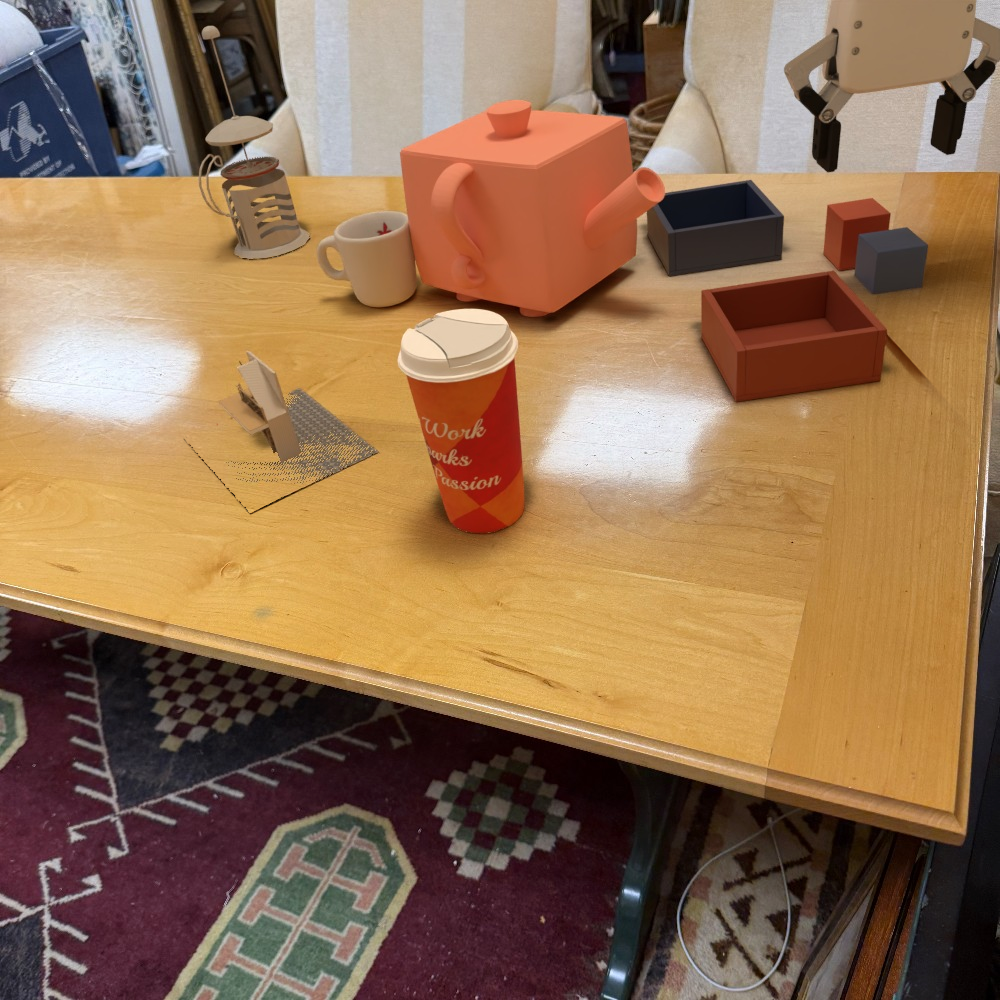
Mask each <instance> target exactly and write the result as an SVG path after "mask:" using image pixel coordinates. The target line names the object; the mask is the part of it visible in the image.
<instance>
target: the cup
mask: <svg viewBox="0 0 1000 1000" xmlns="http://www.w3.org/2000/svg"><path fill="white" fill-rule="evenodd" d="M316 247H317V248H316V258H317V261H318V264H319V266H320V268H321V270H322V272H323V273H324V274H325V276H326V277H328V278H330V279H331V280H333V281H341V282H342V281H344V282H349V283H350V285H351V288H352V290H353V293H354V295H355V297H356V298H357V300H358V301H359V302H360V303H361V304H363V305H365V306H367V307H371V308H386V307H391V306H395V305H398V304H402V303H403V302H405V301H407V300H409V299H410V298H411V297H412V296H413V295H414V294H415V292H416V289H417V284H418V278H417V264H416V261H415V257H414V251H413V246H412V240H411V234H410V228H409V222H408V215H407V213H405V212H402V211H397V210H379V211H373V212H367V213H363V214H359V215H356V216H353V217H351V218H348V219H347V220H344V221H342V222H341V223H339V225H337V226H336V228H334V231H333V234H332V235H329V236H326V237H324V238H323V239H322V240H321V241H320V242H319V243H318V245H317V246H316ZM328 248H332V249H334V250H335V251H336V252H337V253H338V254H339V256H340V258H341V262H342V267H343V269H342V270H338V269H336V268H334V267H333V265H332V264H331V262H330V261H329V258H328V254H327V249H328Z"/></svg>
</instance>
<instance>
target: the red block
mask: <svg viewBox="0 0 1000 1000" xmlns="http://www.w3.org/2000/svg"><path fill="white" fill-rule="evenodd" d="M891 213H892V212H890V211H889V210H888V209H886V208H885V207H884V206H883V205H882V204H880V203H879V201H877V200H876V199H874V198H873V197H868V198H863V199H857V200H850V201H843V202H836V203H830V204H827V206H826V216H825V217H826V218H825V228H824V240H823V252H822V253H823V255H824V256H825V258H827V259H828V260H829V262H831V264H832V265H833V266H834V267H835V268H836V269H837V270H838V271H846V270H852V269H853V270H854V269H855V265H856V255H857V246H858V236H859V234H865V233H872V232H879V231H885V230H890V223H891V217H892V215H891Z"/></svg>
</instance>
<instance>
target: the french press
mask: <svg viewBox="0 0 1000 1000" xmlns="http://www.w3.org/2000/svg"><path fill="white" fill-rule="evenodd" d="M201 37H202V40H210V41H211V43H212V47H213V51H214V54H215V57H216V61H217V64H218V67H219V71H220V74H221V78H222V81H223V84H224V88H225V92H226V95H227V97H228V98H227V99H228V102H229V105H230V108H231V111H232V115H233V116H232V117H230V118H228V119H224V120H223V121H222V122H220V123H219V124H217V125H216V126H214V127H213V128H212V129H211V130H210V131H209V132H208V134H207V135H206V137H205V142H206V143H207V144H208V145H210V146H213V147H226V146H234V145H239V144H241V145H242V148H243V152H244V156H245V158H244V159H241V160H238V161H234V162H232V163H230V164H228V165H226V166H224V162H223V158H222V157H221V155H219V154H218V155H214V154H212V153H209V154H207V155H206V157H205V158H204V159H203V160H202V161H201V164H200V167H199V170H198V187H199V190H200V193H201V196H202V198H203V200H204V202H205V204H206V205H207V206H208V208H210V210H211V211H212V212H214V213H216V214H218V215H220V216H225V217H227V218H230V220H231V222H232V225H233V228H234V231H235V234H236V237H237V240H238V242H237V244H236V246H235V247H234V254H237V255H238V256H240V257H244V258H251V259H253V258H266V257H271V256H276V255H280V254H283V253H286V252H289V251H292V250H294V249H296V248H298V247H300V246H301V245H303V244H305V243H306V241H307V240H308V239H309V238H311V236H310V237H309V231H307V230H305V229H303V228H301V227H300V223H299V220H298V216H297V212H296V208H295V205H294V201H293V197H292V194H291V191H290V186H289V184H288V180H287V176H286V172H285V171H284V170H283V169H281V168H278V167H279V165H280V159H278V158H277V157H273V156H254V158H253V157H251V158H250V157H248V154H247V151H246V147H245V143H249V142H252V141H255V140H258V139H260V138H263V137H265V136H267V135H269V134H270V133H272V132H273V130H274V123H273V122H271V121H267V120H265V119H263V118H261V117H260V118H259V117H257V116H252V115H243V116H241V115H240V116H239V115H236V112H235V110H234V106H233V104H232V100H231V99H232V98H231V96H230V92H229V89H228V86H227V82H226V80H225V79H226V78H225V76H224V72H223V69H222V65H221V62H220V59H219V55H218V52H217V49H216V45H215V42H214V39H216V38H219V37H221V33H220V31H219V29H218V28H217V27H216V26H214V25H207V26H205V27H204V28H203V29H202V30H201ZM210 157H211V161H210V162H209V164H208V167H207V171H206V175H205V178H206V180H205V181H206V182H205V183H206V190H207V193H208V196H209V199H210V202H211V203H212V205H213V206H214V207H213V206H212V205H211V203H210V202H209V201H208V200H207V197H206V194H205V191H204V189H203V187H202V173H203V168H204V165H205V162H207V160H208V159H209V158H210ZM217 159H219V162H220V164H218V163H217V161H216V160H217ZM213 164H214V165H215V166H216V167H219V168H222V167H223V168H222V169H221V170H220V176H221V177H222V178H224V179H226V180H225V181H223V182H222V184H221V190H222V192H223V195H224V198H225V202H226V205H227V208H228V211H229V213H226V212H224V211H222V209H220V208H219V206H218V205H217V204H216V202H215V201H214V199H213V196H212V192H211V190H210V182H209V181H210V179H209V174H210V171H211V168H212V165H213ZM236 186H243V187H248V189H238V190H233V189H232V188H233V187H236ZM249 188H250V189H249ZM228 192H229V193H228ZM228 194H229V196H228ZM272 197H274V198H272ZM269 198H271V199H269ZM257 199H266V200H265V201H262V202H261V201H259V202H258V201H256V200H257ZM231 204H233V206H232V205H231ZM275 207H277V209H272V208H275ZM214 208H215V209H214ZM263 209H271V210H268V211H261V210H263ZM235 214H236V215H235ZM277 217H280V219H275V220H272V221H265V220H267V219H269V218H270V219H271V218H273V219H274V218H277ZM238 224H239V226H238ZM306 244H307V243H306ZM306 244H305V245H306ZM300 248H301V247H300ZM292 252H293V251H292Z"/></svg>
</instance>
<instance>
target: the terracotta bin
mask: <svg viewBox="0 0 1000 1000" xmlns="http://www.w3.org/2000/svg"><path fill="white" fill-rule="evenodd" d="M700 295H701V297H700V298H701V300H700V302H701V304H700V305H701V307H700V308H701V309H700V311H701V313H700V314H701V315H700V316H701V317H700V318H701V320H700V321H701V329H700V334H701V339H702V341H703V342H704V345H705V346H706V349H707V350H708V352H709V354H710V356H711V358H712V360H713V361H714V363H715V365H716V367H717V369H718V371H719V373H720V375H721V376H722V379H723V380H724V382H725V384H726V386H727V388H728V389H729V392H730V394H731V395H732V397H733V399H734V401H735V402H738V403H739V402H744V401H745V402H746V401H751V400H757V399H763V398H764V399H765V398H772V397H778V396H784V395H793V394H798V393H806V392H814V391H819V390H826V389H833V388H839V387H840V388H841V387H846V386H854V385H861V384H867V383H872V382H873V383H874V382H880V381H881V380H882V372H883V364H884V356H885V349H886V342H887V334H888V328H887V327H886V326H885V325H884V324H883V323H882V322H881V320H879V318H878V317H877V316H876V315H875V313H873V312H872V311H871V309H870V308H869V307H867V305H866V304H865V303H864V302H863V300H861V299H860V298H859V297H858V295H857V294H856V293H855V292H854V291H853V290H852V289H851V288H850V287H849V285H848V284H847V283H846V282H845V281H844V280H843V279H842V278H841V276H840V275H839V274H837V272H836V271H835V270H827V271H821V272H815V273H807V274H801V275H795V276H788V277H782V278H781V277H780V278H775V279H768V280H761V281H754V282H747V283H740V284H735V285H729V286H720V287H715V288H707V289H701V294H700Z"/></svg>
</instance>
